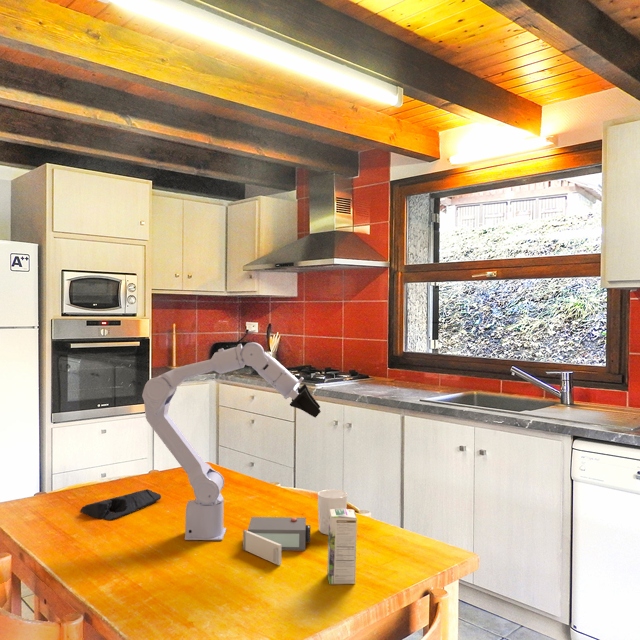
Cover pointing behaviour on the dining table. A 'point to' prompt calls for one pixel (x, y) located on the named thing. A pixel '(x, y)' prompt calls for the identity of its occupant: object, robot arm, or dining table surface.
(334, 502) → the white cup
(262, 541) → the side door
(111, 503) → the folded black cloth
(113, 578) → the dining table surface
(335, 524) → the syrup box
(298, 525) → the camera housing
